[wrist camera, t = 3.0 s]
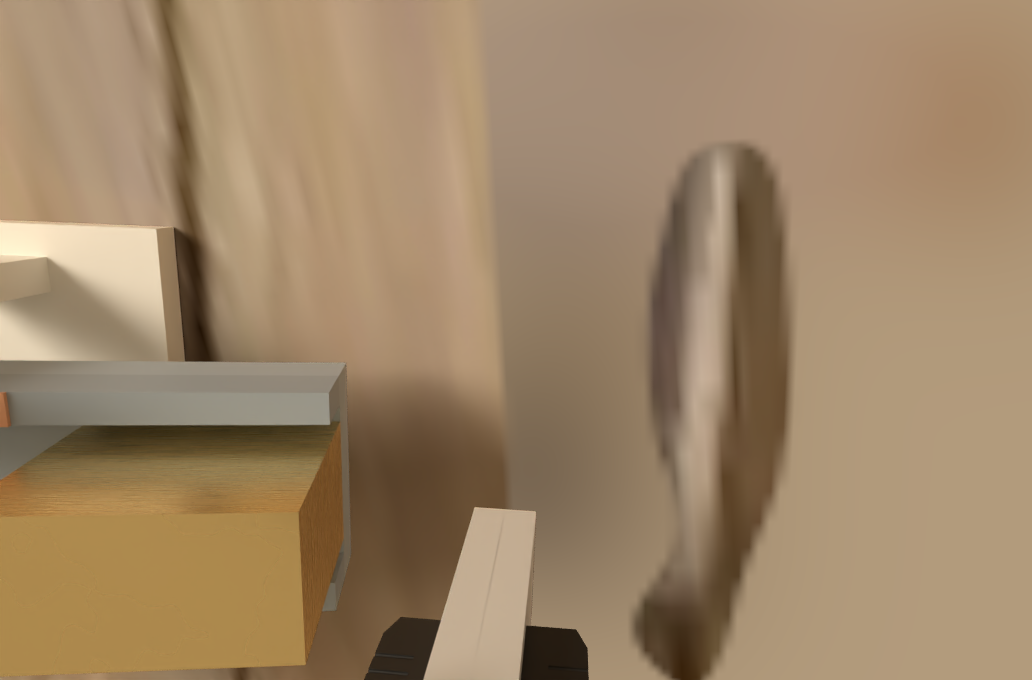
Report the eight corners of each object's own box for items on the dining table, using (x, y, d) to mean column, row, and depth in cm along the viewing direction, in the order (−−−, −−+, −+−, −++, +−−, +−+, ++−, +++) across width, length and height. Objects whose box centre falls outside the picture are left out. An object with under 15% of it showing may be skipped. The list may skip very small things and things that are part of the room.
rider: (88, 421, 19) (-56, 517, 13) (340, 421, 19) (298, 512, 14) (103, 542, 20) (-27, 677, 14) (343, 538, 20) (305, 665, 15)
